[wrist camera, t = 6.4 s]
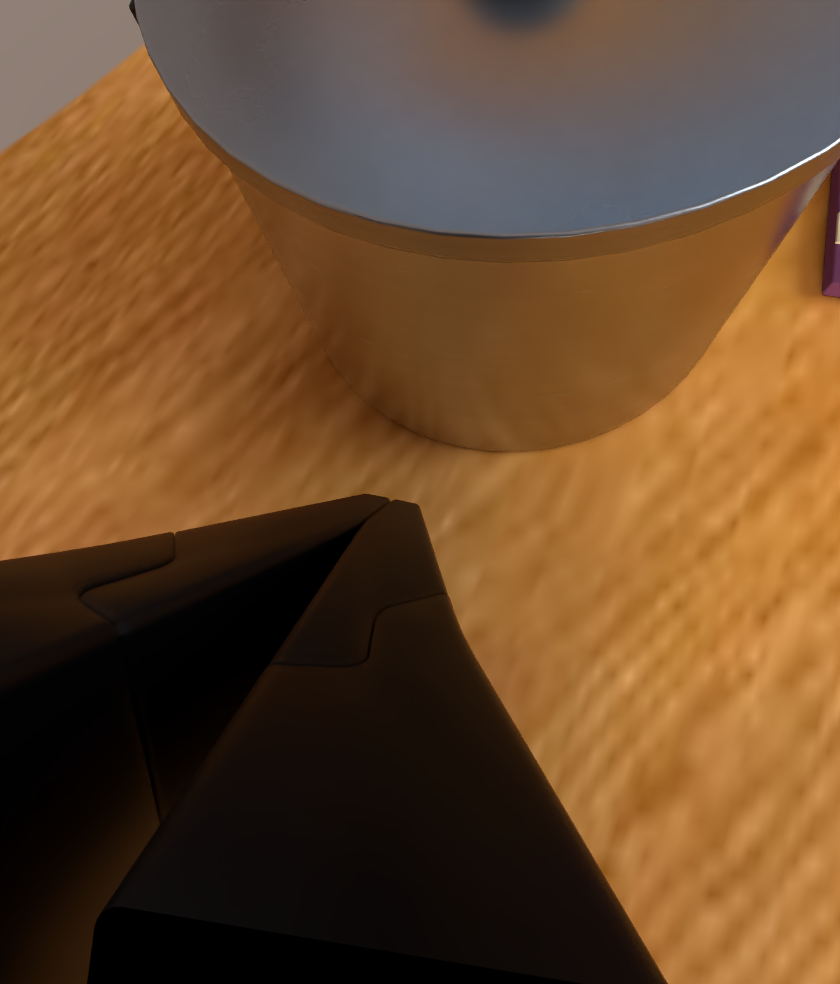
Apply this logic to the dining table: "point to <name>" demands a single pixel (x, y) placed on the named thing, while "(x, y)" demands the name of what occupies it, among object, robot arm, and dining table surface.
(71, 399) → the dining table surface
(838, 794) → the dining table surface
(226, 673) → the robot arm
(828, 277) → the purple striped coaster
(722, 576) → the dining table surface
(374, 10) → the steel pot
